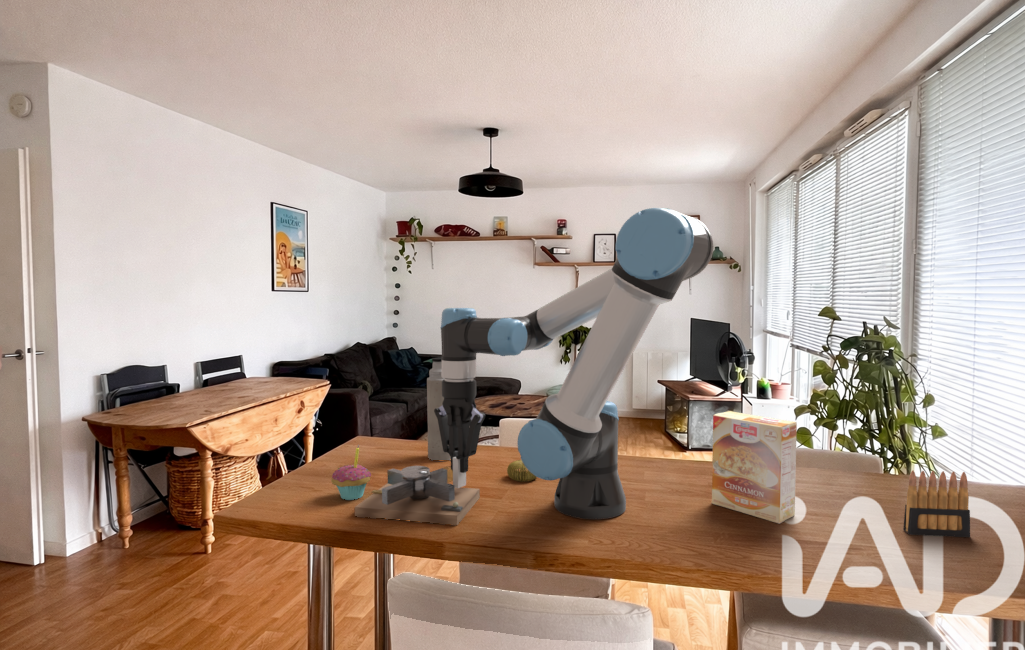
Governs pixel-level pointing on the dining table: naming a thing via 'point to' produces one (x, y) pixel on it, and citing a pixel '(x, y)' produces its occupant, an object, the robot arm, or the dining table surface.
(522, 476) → the sculpture
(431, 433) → the thermos bottle
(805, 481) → the dining table surface
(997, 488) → the dining table surface
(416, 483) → the capstan
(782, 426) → the coffeecake box
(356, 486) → the cupcake
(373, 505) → the stand
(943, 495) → the ammunition clip
